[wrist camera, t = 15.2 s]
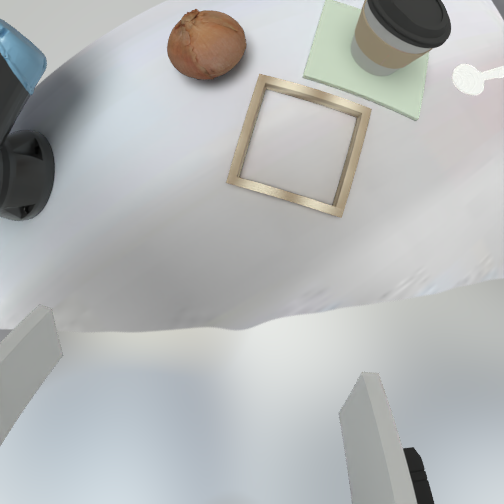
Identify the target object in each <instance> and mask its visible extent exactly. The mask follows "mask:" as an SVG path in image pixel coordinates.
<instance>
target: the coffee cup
mask: <svg viewBox="0 0 504 504" xmlns="http://www.w3.org/2000/svg"><path fill="white" fill-rule="evenodd" d="M450 32H451V23H450V19H449V16H448V14H447V11H446V8H445V6H444V4H443V3H442V1H441V0H365V2H364V4H363V7H362V10H361V13H360V16H359V19H358V22H357V25H356V28H355V34H354V37H353V40H352V43H351V54H352V56H353V58H354V60H355V62H356V63H357V64H358V65H359V66H360V67H361V68H362V69H363V70H365V71H366V72H368V73H370V74H373V75H376V76H388V75H390V74H392V73H394V72H395V71H397V70H398V69H400V68H403V67H405V66H407V65H408V64H410V63H411V62H413V61H415V60H416V59H418V58H419V57H421V56H423V55H424V54H426V53H427V52H429V51H430V50H432V48H436V47H439V46H441V45H442V44H443V43H444V42H445V41H446V40H447V39H448V37H449V35H450Z"/></svg>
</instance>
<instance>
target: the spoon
mask: <svg viewBox="0 0 504 504" xmlns="http://www.w3.org/2000/svg"><path fill="white" fill-rule="evenodd" d="M497 78H504V66H501V67H497V68H495V69H491V70H488V71H484V72H480V71H478V69H476V68H475V67H474V66H472V65H470V64H460V65H458V66H457V67H456V68H455V69H454V71H453V73H452V82H453V84H454V85H455V87H456V88H457V89H458V90H460V91H461V92H463V93H465V94H468V95H479V94H481V93H482V92H483V89H484V81H485V80H488V79H497Z"/></svg>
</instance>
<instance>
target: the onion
mask: <svg viewBox="0 0 504 504" xmlns="http://www.w3.org/2000/svg"><path fill="white" fill-rule="evenodd" d="M245 49H246V39H245V34H244V31H243V29H242V27H241V26H240V25H239V24H238V22H237V21H236V20H234V19H233V18H232V17H230V16H229V15H227V14H225V13H221V12H218V11H201V12H199V11H198V9H195V10H192V11H191V12H187V14H184V16H183V17H182V19H181V20H180V21H179V22H178V23H177V24H176V25H175V27H174V28H173V30H172V32H171V34H170V36H169V40H168V46H167V52H168V57H169V59H170V61H171V63H172V64H173V66H174V67H175V68H176V69H177V70H178V71H179V72H181V73H182V74H184V75H186V76H188V77H192V78H196V79H214V78H215V77H218V76H221V75H224V74H225V73H227V72H228V71H230V70H231V69H232V68H233V67H234V66H235V65H236V64H237V63H238V62H239V61H240V59H241V58H242V56H243V54H244V51H245Z"/></svg>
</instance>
